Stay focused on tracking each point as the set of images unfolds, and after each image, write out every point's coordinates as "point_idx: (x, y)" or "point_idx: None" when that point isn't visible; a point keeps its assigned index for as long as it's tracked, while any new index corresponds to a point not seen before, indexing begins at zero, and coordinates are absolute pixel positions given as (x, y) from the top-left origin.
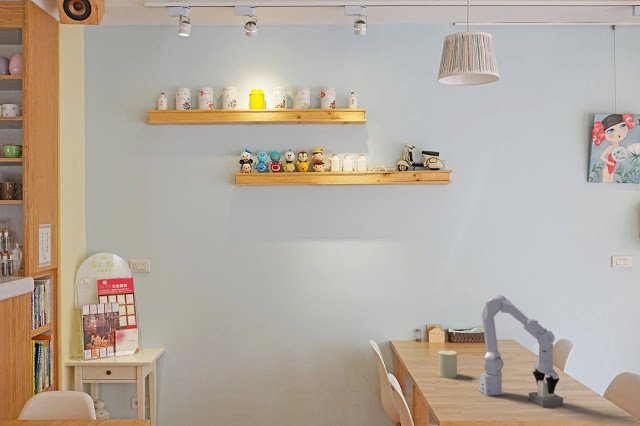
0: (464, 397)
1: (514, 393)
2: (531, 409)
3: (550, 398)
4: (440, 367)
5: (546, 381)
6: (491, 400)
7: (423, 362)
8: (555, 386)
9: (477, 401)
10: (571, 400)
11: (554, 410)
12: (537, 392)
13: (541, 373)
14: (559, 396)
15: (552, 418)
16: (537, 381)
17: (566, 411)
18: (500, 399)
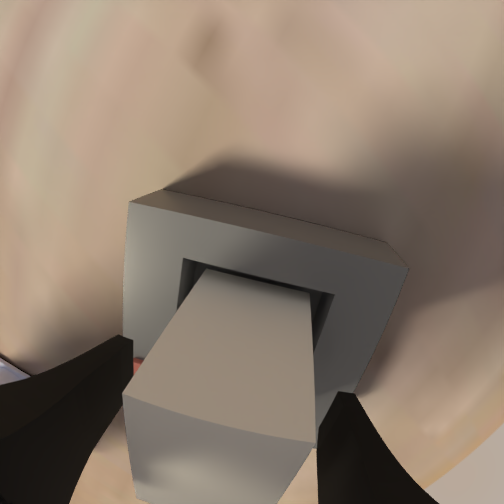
0: (79, 488)
1: (34, 335)
2: (306, 465)
3: (334, 383)
4: None
5: (196, 473)
6: (120, 476)
7: None
8: (395, 460)
9: (123, 500)
10: (329, 45)
11: (409, 388)
12: (136, 347)
13: (28, 493)
14: (347, 254)
15: (450, 455)
16: (95, 444)
17: (473, 333)
18: (113, 452)
